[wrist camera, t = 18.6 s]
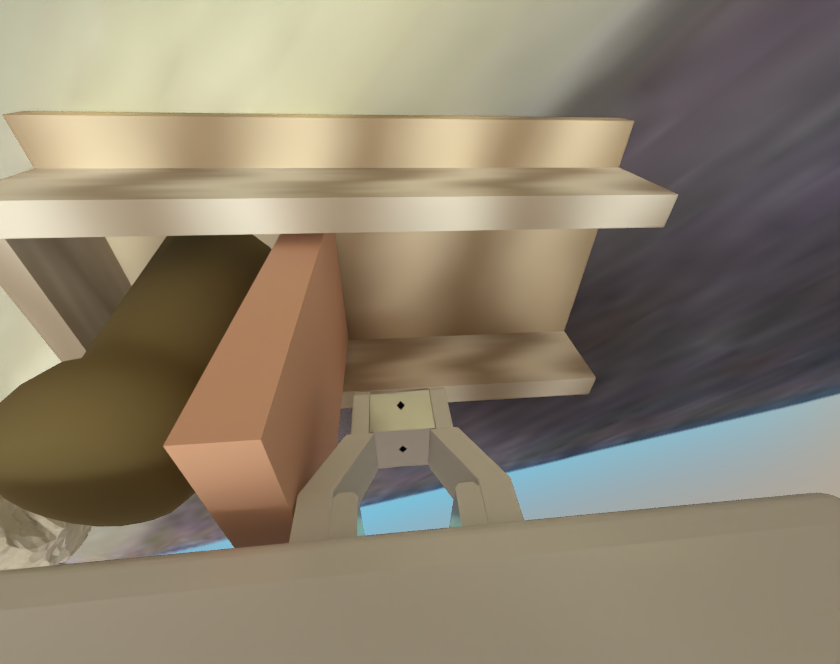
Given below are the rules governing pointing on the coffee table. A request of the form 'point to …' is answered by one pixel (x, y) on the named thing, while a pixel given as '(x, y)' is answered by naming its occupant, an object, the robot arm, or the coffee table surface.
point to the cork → (126, 391)
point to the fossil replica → (35, 538)
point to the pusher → (269, 395)
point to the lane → (339, 228)
